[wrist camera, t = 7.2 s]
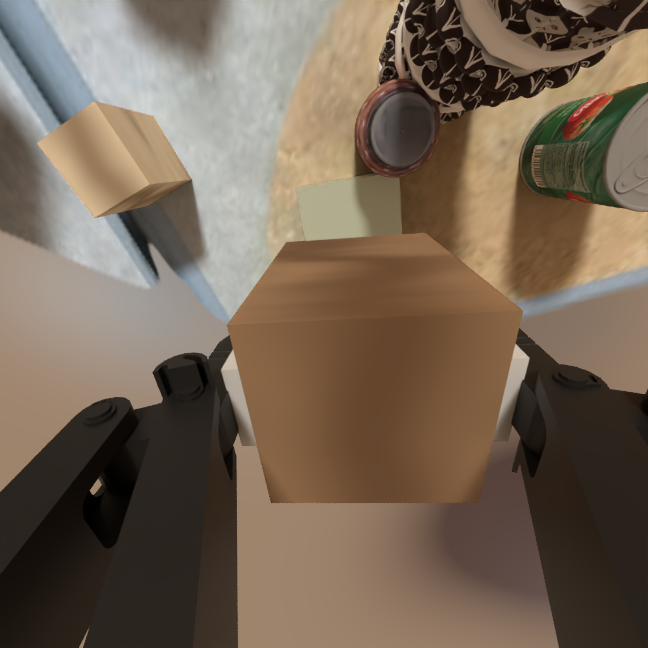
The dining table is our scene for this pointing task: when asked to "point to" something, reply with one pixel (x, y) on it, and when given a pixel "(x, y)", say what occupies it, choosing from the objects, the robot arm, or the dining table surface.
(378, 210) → the pedestal block
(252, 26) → the dining table surface
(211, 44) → the dining table surface
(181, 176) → the maple block
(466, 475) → the walnut block
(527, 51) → the decorative candle
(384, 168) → the supplement bottle
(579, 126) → the canned tomato
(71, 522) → the robot arm
